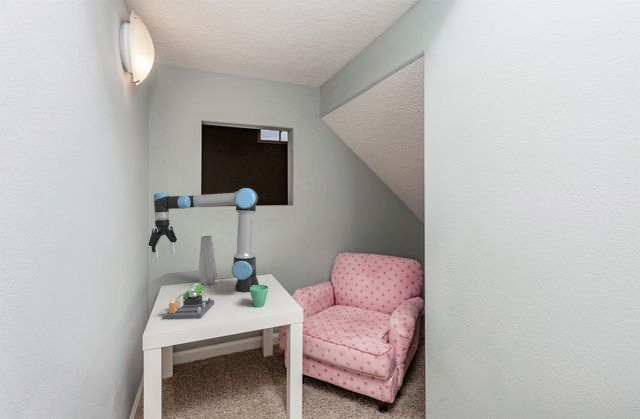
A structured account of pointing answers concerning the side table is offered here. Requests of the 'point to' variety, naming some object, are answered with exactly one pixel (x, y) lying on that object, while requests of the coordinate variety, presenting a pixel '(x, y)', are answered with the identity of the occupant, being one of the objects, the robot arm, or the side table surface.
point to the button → (193, 295)
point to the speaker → (194, 289)
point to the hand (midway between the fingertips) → (164, 255)
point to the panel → (191, 309)
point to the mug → (259, 294)
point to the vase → (207, 261)
